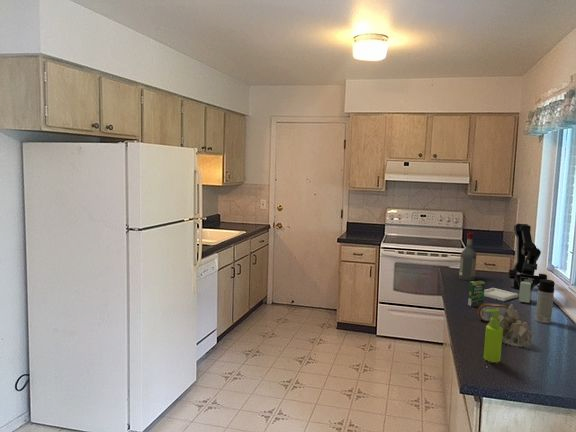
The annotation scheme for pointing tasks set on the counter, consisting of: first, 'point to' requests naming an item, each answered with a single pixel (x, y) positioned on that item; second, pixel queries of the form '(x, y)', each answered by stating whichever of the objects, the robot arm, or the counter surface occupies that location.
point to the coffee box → (476, 293)
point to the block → (525, 291)
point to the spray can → (545, 301)
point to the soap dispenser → (493, 338)
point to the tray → (499, 294)
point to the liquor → (468, 261)
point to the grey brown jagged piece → (514, 328)
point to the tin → (486, 315)
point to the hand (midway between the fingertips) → (525, 289)
